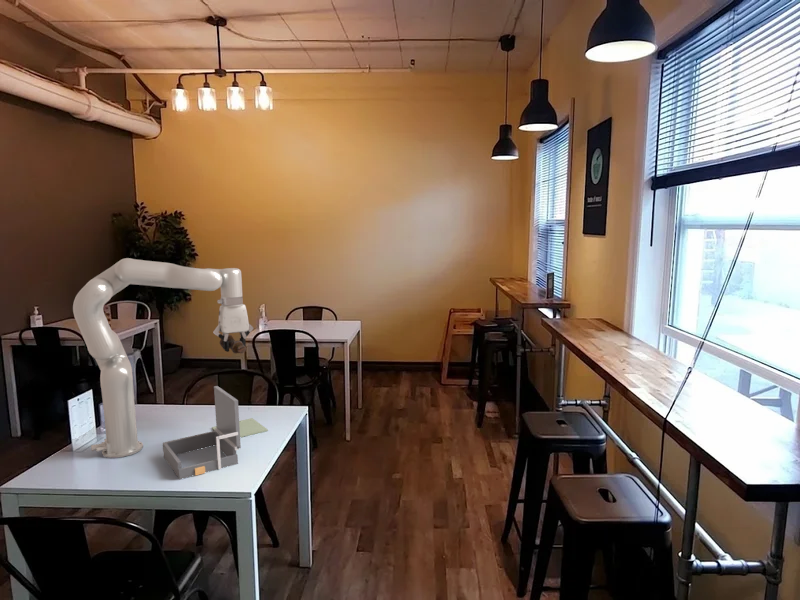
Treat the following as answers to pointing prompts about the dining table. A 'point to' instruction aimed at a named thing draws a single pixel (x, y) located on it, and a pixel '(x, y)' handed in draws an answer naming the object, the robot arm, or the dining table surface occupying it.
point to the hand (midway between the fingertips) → (234, 349)
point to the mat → (249, 427)
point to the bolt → (234, 345)
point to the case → (210, 439)
